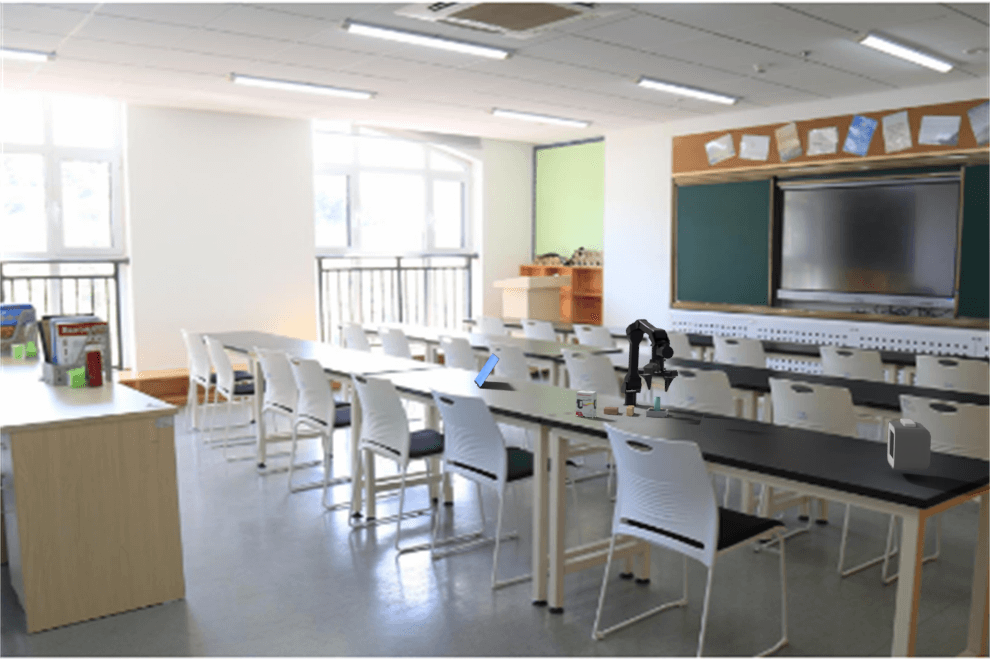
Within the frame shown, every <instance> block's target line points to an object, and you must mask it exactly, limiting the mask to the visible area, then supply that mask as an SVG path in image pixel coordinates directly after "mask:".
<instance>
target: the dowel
mask: <svg viewBox="0 0 990 660" xmlns="http://www.w3.org/2000/svg"><path fill="white" fill-rule="evenodd" d="M653 399H654V400H653V408H654V411H660V408H661V396H654V398H653Z"/></svg>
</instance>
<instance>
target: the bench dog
mask: <svg viewBox="0 0 990 660" xmlns="http://www.w3.org/2000/svg"><path fill="white" fill-rule="evenodd" d="M625 412H626V414H625V416H627V417H632V416H633V415H634V414H635V406H627V407H626V411H625Z"/></svg>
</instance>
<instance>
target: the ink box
mask: <svg viewBox="0 0 990 660" xmlns="http://www.w3.org/2000/svg"><path fill="white" fill-rule="evenodd" d="M597 396H598V392H597V391H594V390H593V391H592V390H579V391H578V390H577V391H576V392H575V416H576V415H578V416H586V417H595V416H596V417H597V413H598V412H597V408H598V407H597V403H598V402H597V398H598V397H597ZM596 417H595V418H596Z"/></svg>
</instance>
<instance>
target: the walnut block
mask: <svg viewBox="0 0 990 660" xmlns="http://www.w3.org/2000/svg"><path fill="white" fill-rule="evenodd" d="M619 409H620V408H619V407H618V406H605V407H603V414H604V415H615V416H617V415H618V414H619Z"/></svg>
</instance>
